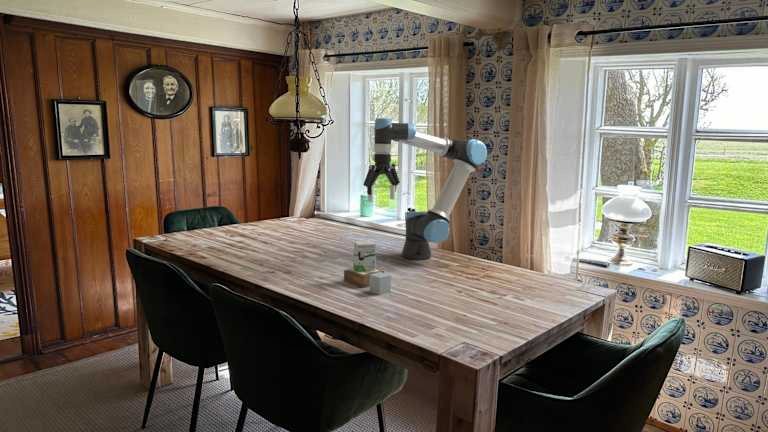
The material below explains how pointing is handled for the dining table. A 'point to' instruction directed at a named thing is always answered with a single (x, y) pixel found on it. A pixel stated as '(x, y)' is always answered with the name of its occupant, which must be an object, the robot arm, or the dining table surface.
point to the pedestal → (359, 277)
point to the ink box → (364, 256)
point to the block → (380, 283)
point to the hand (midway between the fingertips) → (381, 200)
